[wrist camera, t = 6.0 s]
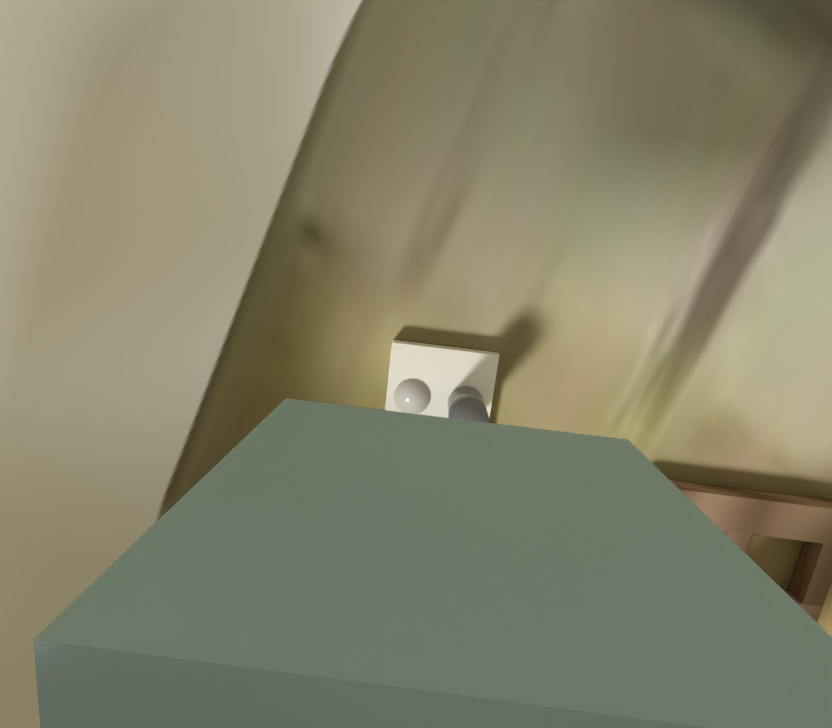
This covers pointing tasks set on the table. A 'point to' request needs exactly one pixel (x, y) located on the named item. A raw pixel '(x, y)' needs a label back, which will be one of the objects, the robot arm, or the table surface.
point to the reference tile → (441, 381)
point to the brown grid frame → (775, 531)
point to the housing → (432, 593)
